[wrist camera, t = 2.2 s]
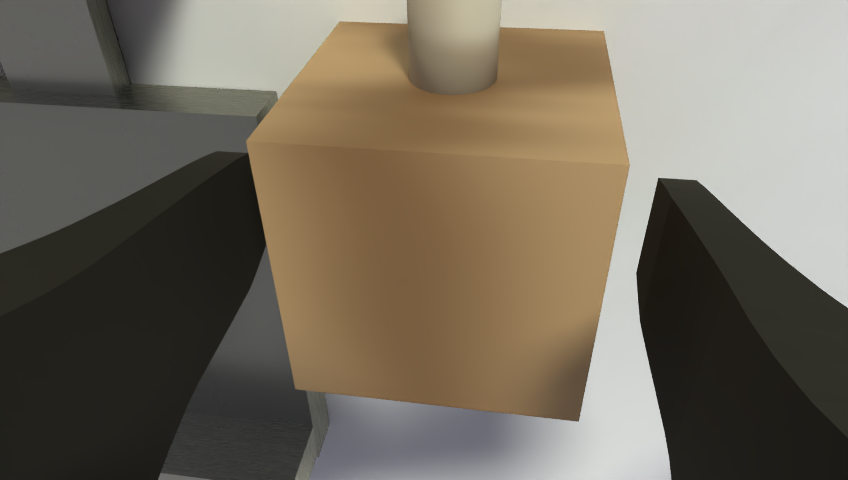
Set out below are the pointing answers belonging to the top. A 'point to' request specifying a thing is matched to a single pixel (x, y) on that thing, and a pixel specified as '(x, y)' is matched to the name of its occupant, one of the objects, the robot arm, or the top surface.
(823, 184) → the top surface
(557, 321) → the housing block
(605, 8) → the top surface
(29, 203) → the press bed
